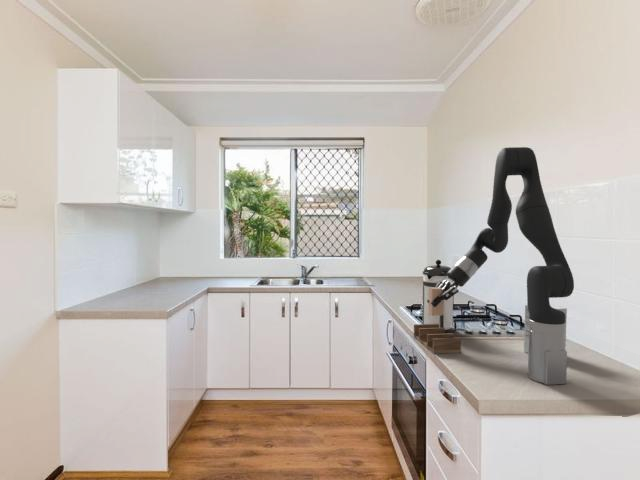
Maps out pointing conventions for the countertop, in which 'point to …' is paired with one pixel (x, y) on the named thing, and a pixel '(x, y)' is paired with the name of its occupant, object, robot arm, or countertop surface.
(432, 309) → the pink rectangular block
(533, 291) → the robot arm
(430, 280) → the coffee press
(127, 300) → the countertop surface
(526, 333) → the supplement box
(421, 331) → the drying rack
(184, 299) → the countertop surface
